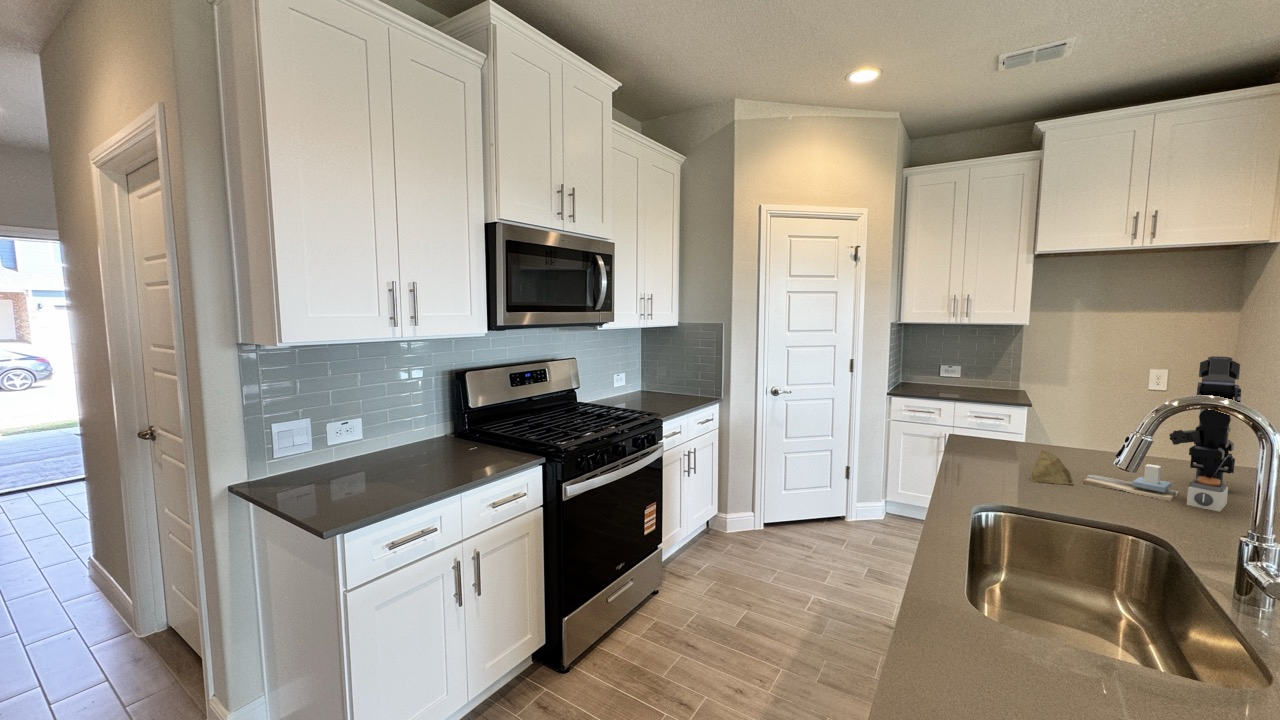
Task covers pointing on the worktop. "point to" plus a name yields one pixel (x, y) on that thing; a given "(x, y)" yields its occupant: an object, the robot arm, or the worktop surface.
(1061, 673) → the worktop surface
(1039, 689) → the worktop surface
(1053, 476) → the rock
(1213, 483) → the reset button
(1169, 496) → the rail
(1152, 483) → the carriage
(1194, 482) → the gauge cabinet
